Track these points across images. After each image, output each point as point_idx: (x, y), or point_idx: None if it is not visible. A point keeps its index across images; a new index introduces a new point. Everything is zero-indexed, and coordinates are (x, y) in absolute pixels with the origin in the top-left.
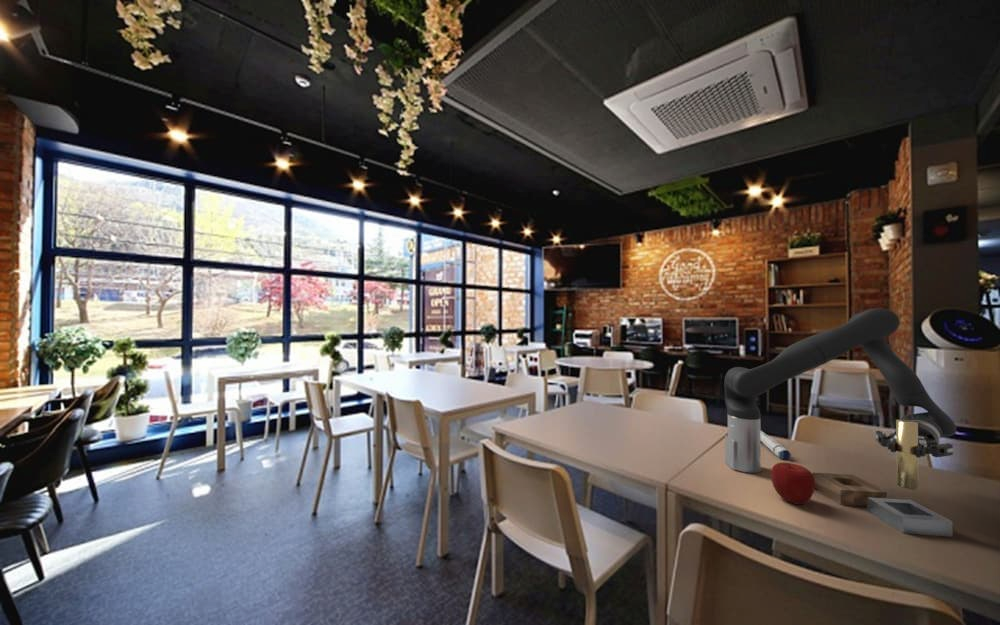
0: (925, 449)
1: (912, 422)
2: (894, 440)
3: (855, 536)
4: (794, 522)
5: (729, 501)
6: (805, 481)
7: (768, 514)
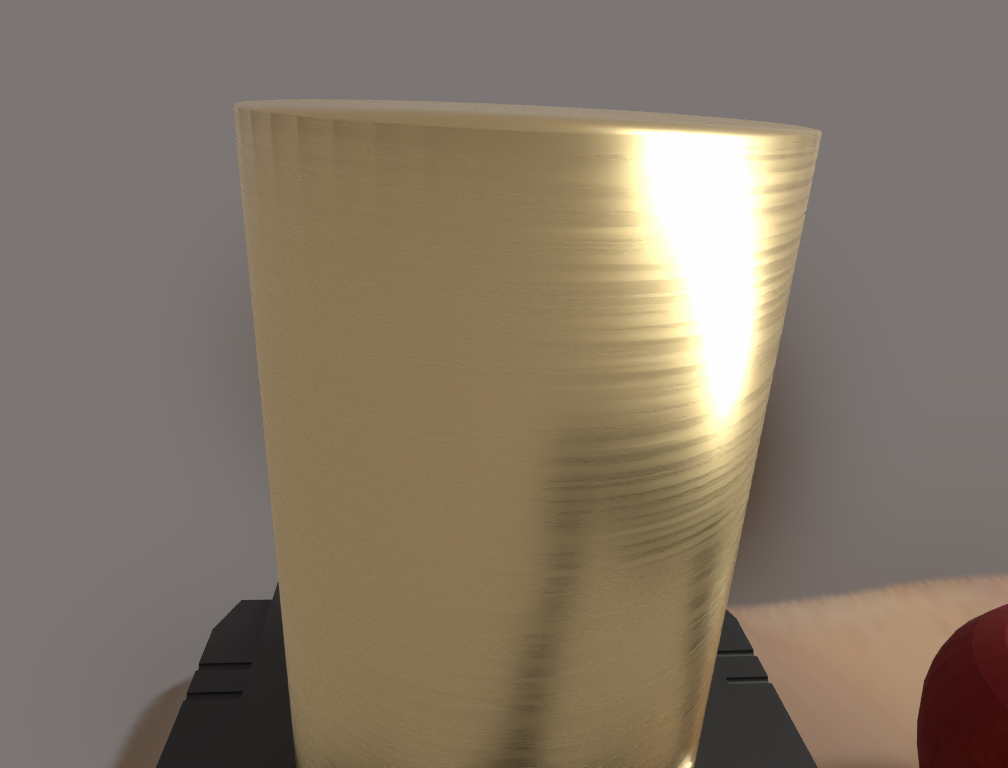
0: (189, 702)
1: (378, 108)
2: (746, 764)
3: None
4: (768, 624)
5: (998, 591)
6: (940, 656)
7: (855, 608)
